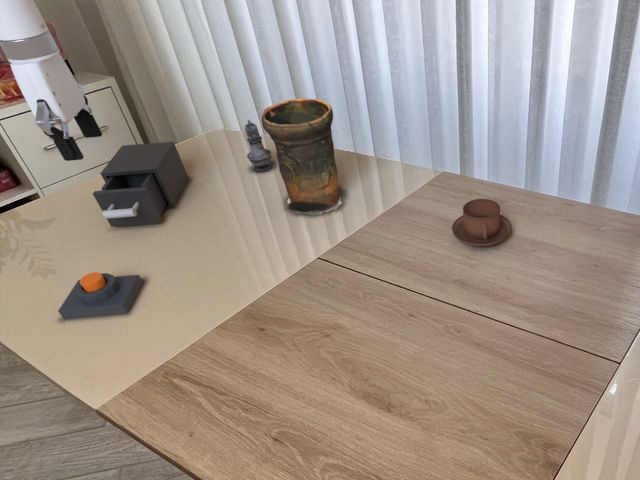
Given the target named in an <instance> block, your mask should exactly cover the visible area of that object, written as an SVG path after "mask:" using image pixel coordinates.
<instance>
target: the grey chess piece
mask: <svg viewBox="0 0 640 480" xmlns="http://www.w3.org/2000/svg"><path fill="white" fill-rule="evenodd" d="M244 131H245V134H246V137H247V139H246V142H247V143H248V145H249V147H250V152H249V153H247V155H246V158H247V159H248V161H249V162H250V163H251V164H252V165H253V167H252V171H253V172H255V173H266V172H269V171H272V169H273V168H274V166H275V165H274V164H273V163H271V161H272V153H273V152H272V150H270V149H266V148H265V147H264V144H263V141H262V140H263V137H262V136H261V134H260V132H259V129H258V126H257V125H256V123H253V122H251V120H249V119H247V123H246V124H245V125H244Z"/></svg>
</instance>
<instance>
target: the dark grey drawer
mask: <svg viewBox="0 0 640 480" xmlns="http://www.w3.org/2000/svg"><path fill="white" fill-rule="evenodd" d="M92 195H93V197H94V199H95V201H96V203H97V204H98V206H99V208H100V210H101V211H102V212H101V213H102V217H103V218H104V219H105V220H107V222H108V223H109V226H110V227H111V228H112V227H113V228H115V227H126V226H127V227H128V226H139V225H150V224H160V223H162V221H163V218H162V216H161V215H162V214H163V212H164V210H165V209H164V208H165V206H166V204H167V200H166V197H165V195H164V193H163V191H162V189H161V187H160V184H159V182H158V180H157V178H156V176H155V174H154V173H143V174H130V175H117V176H110V177H109V179H108V180H107V181H106V183H105V182H104V184H103V185H102V186H101V190H94V191H93V192H92Z"/></svg>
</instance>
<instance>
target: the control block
mask: <svg viewBox="0 0 640 480" xmlns="http://www.w3.org/2000/svg"><path fill="white" fill-rule="evenodd" d="M100 273H101V272H100ZM101 274H102V276H103V277H104V279H105V281H106V285H105V286H104V287H102V288H101V289H98V290H96V291H91V292H87V291H85V290H84V288H83V287H82V285H81V284H80V279H78V280H77V281H76V283H75V284H74V286H73V287H72V289H71V290H70V292H69V293H68V295H67V297H66V298H65V299H64V301H63V302H62V304H61V306H60V307H59V309H58V311H57V312H58V313H59V314H60V316H61V317H62V319H63V320H74V319H86V318H97V317H107V316H119V315H128V314H129V313H130V311H131V309H132V306H133V304H134V303H135V300H136V299H137V296H138V295H139V293H140V291H141V289H142V287H143V285H144V281H143V280H142V278H141V276H140V275H139V274H131V275H119V276H117V275H116V276H114V275H113V274H111V273H107V272H104V273H103V272H102V273H101Z"/></svg>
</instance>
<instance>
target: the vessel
mask: <svg viewBox="0 0 640 480" xmlns="http://www.w3.org/2000/svg"><path fill="white" fill-rule="evenodd" d="M333 120H334V112H333V108H332V106H331V105H330V103H328V102H326V101H324V100H321V99H317V98H312V99H311V98H310V99H309V98H304V97H303V98H295V99H290V100H285V101H282V102H278V103H274V104H272V105H270V106H267V107H265V109H264V110H263V113H262V115H261V125H262V128H263V130H264V131H265V132H266V133H267V134H268V135H269V137H270V139H271V140H272V141H273V143H274V147H275V152H276V158H277V162H278V169H279V170H278V171H279V174H280V176H281V178H282V180H283V183H284V186H285V189H286V193H287V195H288V198H287V200H286V202H287V205H288V210H290V211H291V212H292V213H294V214H297V215H306V216H312V217H313V216H319V215H322V214H323V213H330V211H335V210H338V209H339V208H340V206H341V205H342V204H343V201H341V200H342V198H341V195H340V193H339V181H338V178H339V177H338V176H339V172H338V168H337V165H336V157H335V146H334V140H333V132H332V125H333Z"/></svg>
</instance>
